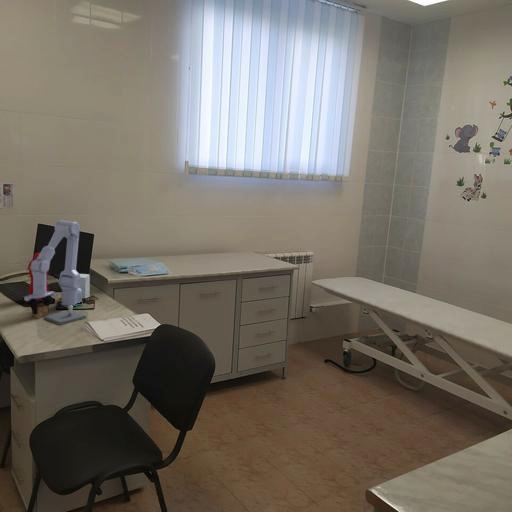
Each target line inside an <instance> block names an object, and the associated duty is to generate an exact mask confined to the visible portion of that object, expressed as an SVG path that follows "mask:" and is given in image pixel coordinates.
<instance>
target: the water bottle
mask: <svg viewBox="0 0 512 512" xmlns="http://www.w3.org/2000/svg"><path fill="white" fill-rule="evenodd" d="M39 254H40V252H37V253H34V254H33V257H32V258H33V259H31V260H30V261H29V263H28V265H27V270H26V271H28V274H29V275H28V274H26V276H27V277H28V278H29V277H30V284H29V288H28V293H27V294H28V295H31V294H33V275H32V271H31V269H30V266H31V263H32V261H34V260H36V259H37V257H38V256H39ZM49 271H50V269H49V270H48V271H47V272H46V292H50V288H49V283H48V275H49ZM28 295H27V296H28ZM38 299H40V300H42V298H38Z"/></svg>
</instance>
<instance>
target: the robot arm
mask: <svg viewBox="0 0 512 512" xmlns="http://www.w3.org/2000/svg"><path fill="white" fill-rule="evenodd" d="M80 229H81V226H80V224H79V223H78V222H77V221H69V220H64V219H63V220H62V219H59V220H57V221H56V224H55V225H54V232H53V235H52V237H50V238H51V239H50V241H49V242H48V245H45V246H43V247H42V249H41V251H40V252H39V253H40V254H39V256H38V257H37V259H36V260H34V261H32V263H31V266H30V269H31V271H32V275H33V294H31V295H25V296H24V300H23V301H25V302H27V303H28V304H29V306H30V308H31V313H32V312H33V314H35V315H36V314H37V305H38V304H39V301H36V300H35V299H38V298H42V301H41V302H42V304H44V305H47V306H48V308H49V306H50V304H51V302H52V300H53V297H54V296H55V295H56V294H55V291H52V290H51V291H50V290H49V292H46V272H47V271H48V270H49V271H50V265H51V261H52V259H53V257H54V255H56V251H55V249H56V248H57V246H58V245H59V243H60V242H61V241H62V240H63V238H65V239H66V250H65V251H66V252H65V263H64V270H62V271H61V272H60V273H59V278H58V280H57V284H58V286H59V287H60V289H61V304H63V305H75V304H77V303H80V302H82V303H83V301H82V290H81V289H80V288H79V287H80V284H81V280H80V274H81V273H79V272H78V271H77V261H78V251H79V240H80ZM49 271H48V272H49Z"/></svg>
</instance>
